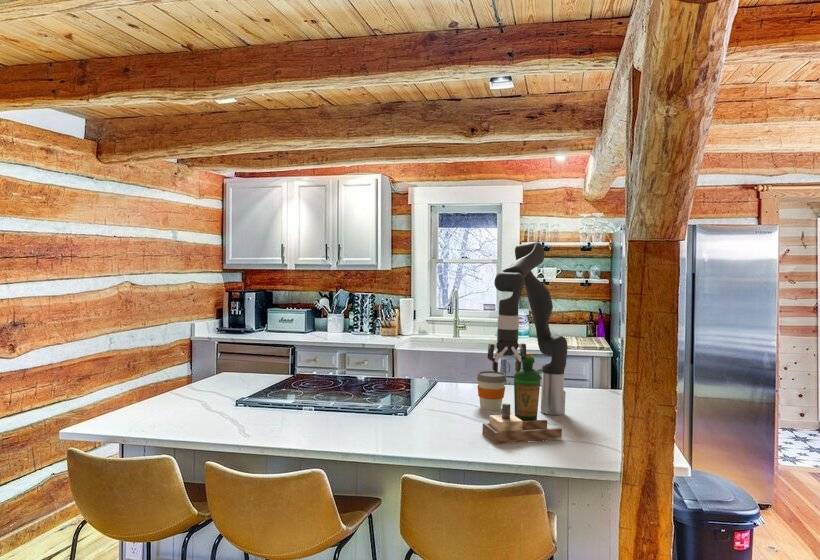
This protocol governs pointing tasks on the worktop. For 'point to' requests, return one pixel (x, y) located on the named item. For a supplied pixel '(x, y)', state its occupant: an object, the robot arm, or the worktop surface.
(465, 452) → the worktop surface
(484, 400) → the reusable coffee cup
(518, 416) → the bottle
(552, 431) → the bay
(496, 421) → the light wooden block
